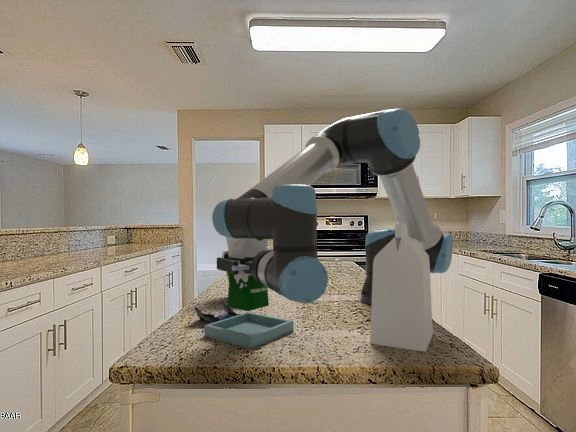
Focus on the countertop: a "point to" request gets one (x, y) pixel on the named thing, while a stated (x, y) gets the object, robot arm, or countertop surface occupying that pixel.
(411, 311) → the milk
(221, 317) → the snack package
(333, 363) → the countertop surface
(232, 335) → the tray
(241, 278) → the milk carton
